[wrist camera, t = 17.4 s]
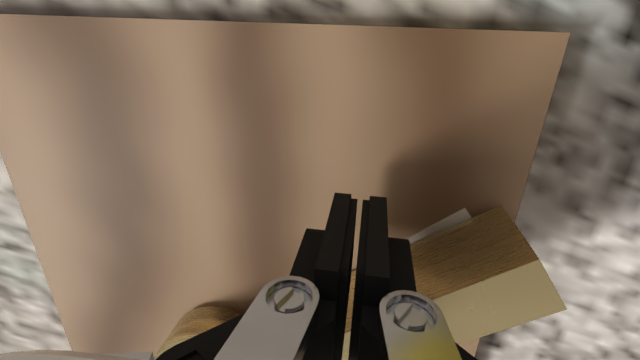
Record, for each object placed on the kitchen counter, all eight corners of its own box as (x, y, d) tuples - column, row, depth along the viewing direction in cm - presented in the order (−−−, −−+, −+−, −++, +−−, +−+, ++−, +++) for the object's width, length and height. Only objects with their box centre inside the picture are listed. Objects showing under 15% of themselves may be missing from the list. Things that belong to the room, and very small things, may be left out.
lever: (543, 278, 12) (589, 349, 10) (220, 395, 18) (192, 461, 15) (479, 165, 11) (511, 210, 8) (154, 328, 17) (110, 387, 14)
